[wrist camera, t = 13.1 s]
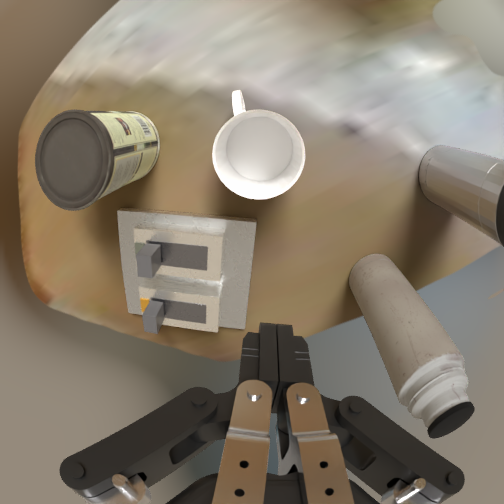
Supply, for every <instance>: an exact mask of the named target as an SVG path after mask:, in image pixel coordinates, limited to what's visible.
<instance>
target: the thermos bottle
mask: <svg viewBox="0 0 504 504" xmlns="http://www.w3.org/2000/svg"><path fill="white" fill-rule="evenodd" d="M349 285H350V288H351V290H352V293H353V295H354V297H355V299H356V301H357V303H358V305H359V307H360V309H361V312H362V314H363V316H364V318H365V320H366V323H367V325H368V327H369V329H370V331H371V333H372V336H373V338H374V340H375V343H376V345H377V348H378V350H379V352H380V355H381V357H382V360H383V362H384V364H385V367H386V369H387V372H388V374H389V377H390V379H391V382H392V384H393V387H394V390H395V392H396V394H397V397H398V400H399V402H400V403H401V404H402V405H404V406H407V407H408V411H409V412H410V413H411V415H412V416H413V417H414V418H417V419H423V421H424V424H425V426H426V427H427V428H428V430H427V431H428V434H429V437H430V438H439V437H442V436H444V435H447V434H449V433H451V432H453V431H454V430H456V429H457V428H459V427H460V426H462V425H463V424H464V423H465V422H466V421H467V420H468V419H469V418H470V417H471V416H472V414H473V412H474V406H473V404H472V403H471V402H469V398H468V396H467V394H466V392H465V390H466V389H467V386H468V378H467V376H466V372H465V370H464V365H465V361H464V358H463V356H462V355H461V353H460V352H459V350H458V349H457V347H456V346H455V344H454V343H453V341H452V340H451V339H450V337H449V335H448V334H447V332H446V331H445V330H444V328H443V327H442V325H441V324H440V323H439V321H438V320H437V318H436V317H435V315H434V314H433V313H432V311H431V310H430V309H429V307H428V306H427V305H426V303H425V302H424V301H423V299H422V298H421V297H420V296H419V294H418V293H417V292H416V291H415V289H414V288H413V287H412V285H411V284H410V283H409V282H408V280H407V279H406V278H405V276H404V275H403V274H402V273H401V272H400V270H399V269H398V268H397V267H396V265H395V264H394V263H393V262H392V261H391V260H390V259H389V258H388V257H387V256H385V255H382V254H371V255H368V256H366V257H364V258H362V259H361V260H359V261H358V262H357V263H356V264H355V265H354V267H353V269H352V270H351V273H350V276H349Z"/></svg>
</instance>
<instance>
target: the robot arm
mask: <svg viewBox="0 0 504 504" xmlns="http://www.w3.org/2000/svg"><path fill="white" fill-rule="evenodd" d="M419 182H420V186H421V189H422V191H423V193H424V195H425V196H426V197H427V198H428V199H429V200H430V201H431V202H433V203H435V204H437V205H438V206H440V207H442V208H444V209H445V210H447V211H449V212H450V213H452V214H454V215H455V216H457V217H459V218H460V219H462V220H464V221H465V222H467V223H468V224H470V225H472V226H473V227H475V228H476V229H478V230H479V231H481V232H483V233H484V234H486V235H487V236H489V237H490V238H492V239H493V240H495V241H496V242H498V243H499V244H501V245H502V246H503V247H504V160H502V159H498V158H495V157H491V156H487V155H484V154H480V153H476V152H472V151H467V150H463V149H459V148H454V147H449V146H443V145H439V146H435V147H433V148H431V149H430V150H429V151H428V152H427V153H426V154H425V156H424V157H423V160H422V162H421V165H420V169H419ZM271 413H277V423H276V427H275V429H276V439H277V448H278V457H279V468H278V475H275V474H270V473H267V465H268V455H269V444H270V436H269V426H270V415H271ZM221 439H226V440H225V445H224V450H223V455H222V459H221V464H220V469H219V473H215V474H211V475H208V476H205V477H203V478H200V479H199V480H197V481H195V482H194V483H193V484H191V485H190V486H189V487H187V488H186V489H185V490H183V491H182V492H181V493H180V494H178V495H177V496H176V497H174V498H173V499H171V500H170V501H169V502H167V503H166V504H380V503H378V502H377V501H376V500H375V499H374V498H372V497H371V496H370V495H369V494H367V493H366V492H365V491H364V490H363V489H362V488H361V487H359V486H358V485H357V484H356V483H355V482H353V481H352V480H350V479H348V475H347V471H346V468H347V469H348V470H350V471H351V472H352V473H353V474H354V475H356V476H357V477H358V478H359V479H361V480H362V481H363V482H365V483H366V484H367V485H368V486H369V487H371V488H372V489H373V490H375V491H376V492H377V493H378V494H380V495H381V496H382V498H381V504H441V503H442V502H443V501H444V500H446V499H448V498H449V497H451V496H453V495H454V494H456V493H457V492H459V491H460V490H461V489H462V487H463V485H464V480H465V479H464V474H463V472H462V471H461V469H459V468H458V467H457V466H455V465H454V464H452V463H451V462H449V461H448V460H446V459H445V458H443V457H442V456H440V455H439V454H437V453H436V452H435V451H433V450H432V449H431V448H429V447H428V446H426V445H425V444H424V443H422V442H421V441H419V440H418V439H416V438H415V437H414V436H412V435H411V434H410V433H408V432H407V431H406V430H404V429H403V428H401V427H400V426H399V425H397V424H396V423H395V422H393V421H392V420H391V419H389V418H388V417H387V416H385V415H384V414H383V413H381V412H380V411H379V410H377V409H376V408H375V407H374V406H372V405H371V404H370V403H368V402H367V401H366V400H364V399H363V398H361V397H358V396H349V397H346V398H344V399H343V400H342V401H337V400H333V399H330V398H327V397H324V396H323V395H321V394H320V393H319V391H318V390H317V388H315V386H314V382H313V375H312V369H311V363H310V357H309V350H308V345H307V343H306V341H305V340H304V339H303V337H302V336H293V328H292V325H284V324H271V323H260V326H259V333H252V332H248V333H247V335H246V336H245V337H244V339H243V345H242V354H241V364H240V374H239V383H238V385H237V386H236V387H235V388H234V389H233V390H231V391H229V392H226V393H220V394H214V393H213V392H212V391H210V390H208V389H206V388H202V387H194V388H191V389H188V390H186V391H185V392H183V393H182V394H180V395H179V396H177V397H175V398H174V399H172V400H171V401H169V402H167V403H166V404H164V405H163V406H161V407H159V408H158V409H156V410H154V411H153V412H151V413H149V414H148V415H146V416H144V417H143V418H141V419H139V420H137V421H136V422H134V423H132V424H130V425H129V426H127V427H125V428H123V429H121V430H120V431H118V432H116V433H114V434H112V435H110V436H109V437H107V438H105V439H103V440H101V441H99V442H97V443H95V444H93V445H92V446H90V447H88V448H86V449H84V450H82V451H80V452H78V453H76V454H73V455H71V456H69V457H67V458H66V459H65V460H64V461H63V462H62V464H61V466H60V476H61V478H62V480H63V481H64V482H65V484H66V485H67V486H69V487H70V488H72V489H73V490H74V492H76V493H77V494H78V495H80V496H81V497H82V498H84V500H85V501H86V503H87V504H150V502H151V492H150V490H149V487H150V486H152V485H154V484H155V483H157V482H158V481H160V480H161V479H163V478H164V477H166V476H168V475H169V474H171V473H172V472H174V471H175V470H176V469H178V468H179V467H181V466H182V465H183V464H185V463H186V462H188V461H189V460H191V459H192V458H193V457H195V456H196V455H197V454H199V453H200V452H202V451H203V450H204V449H206V448H207V447H208V446H210V445H211V444H212V443H213V442H214V441H215V440H221Z"/></svg>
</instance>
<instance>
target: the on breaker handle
mask: <svg viewBox="0 0 504 504" xmlns="http://www.w3.org/2000/svg"><path fill="white" fill-rule="evenodd" d="M136 262H137V273H138V277H144V278H151V279H153V277H154V276H155V274H156V273H157V271H158V270H159V268H160V267H161V246H160V245H159V244H149V243H146V244H145V245H144V246H143V247H142V249H141V250H140V251H139V252H138V253H137V254H136Z"/></svg>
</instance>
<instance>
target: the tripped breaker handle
mask: <svg viewBox="0 0 504 504" xmlns="http://www.w3.org/2000/svg"><path fill="white" fill-rule="evenodd" d="M142 318H143V324H144V331H145V332H151V333H156V334H158V332H159V330H160V328H161V325H162V323H163V321H164V319H165V317H164V306H163V302H158V301H152V300H150V302H149V304H148V305H147V307H146V309H145V311H144V312H143V314H142Z"/></svg>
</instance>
